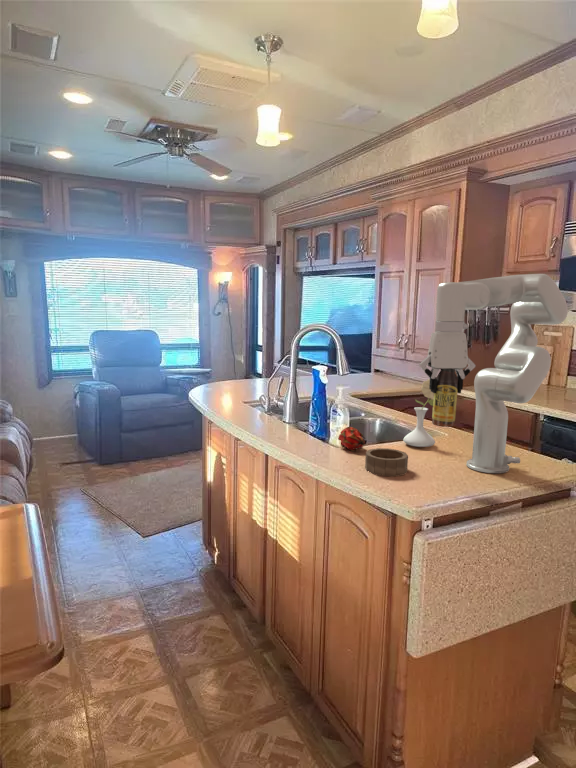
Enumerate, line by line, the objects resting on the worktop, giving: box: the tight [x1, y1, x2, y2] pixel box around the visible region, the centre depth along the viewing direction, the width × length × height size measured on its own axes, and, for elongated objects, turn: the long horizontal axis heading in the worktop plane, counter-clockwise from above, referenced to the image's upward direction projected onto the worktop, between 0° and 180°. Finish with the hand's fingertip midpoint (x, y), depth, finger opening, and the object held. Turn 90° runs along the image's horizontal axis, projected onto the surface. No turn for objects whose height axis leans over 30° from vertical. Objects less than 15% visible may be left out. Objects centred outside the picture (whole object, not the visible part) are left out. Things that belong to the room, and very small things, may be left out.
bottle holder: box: [364, 447, 409, 477], centre depth 155 cm, size 12×12×5 cm
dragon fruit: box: [337, 426, 368, 452], centre depth 177 cm, size 8×8×12 cm
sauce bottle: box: [431, 368, 458, 428], centre depth 141 cm, size 7×6×20 cm
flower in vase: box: [402, 378, 436, 448], centre depth 182 cm, size 13×11×25 cm
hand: (445, 391), depth 141 cm, fingers closed on sauce bottle, 6 cm apart
